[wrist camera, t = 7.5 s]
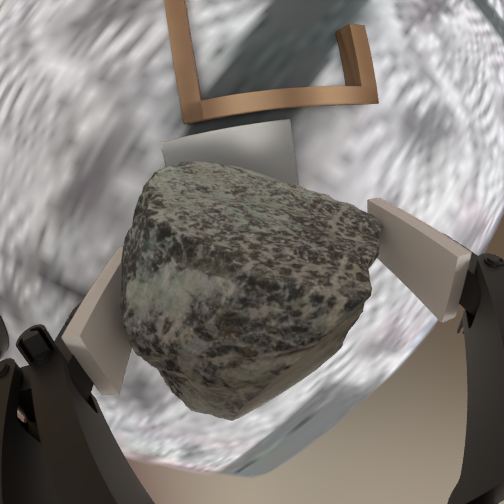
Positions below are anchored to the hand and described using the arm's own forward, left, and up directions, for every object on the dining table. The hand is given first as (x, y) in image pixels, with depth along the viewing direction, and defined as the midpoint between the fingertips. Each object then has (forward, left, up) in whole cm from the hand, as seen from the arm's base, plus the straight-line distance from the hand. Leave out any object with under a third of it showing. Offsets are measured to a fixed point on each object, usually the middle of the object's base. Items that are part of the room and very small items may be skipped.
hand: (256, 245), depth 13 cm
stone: (-1, 0, -2) cm, 2 cm away
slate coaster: (0, 0, -12) cm, 12 cm away
